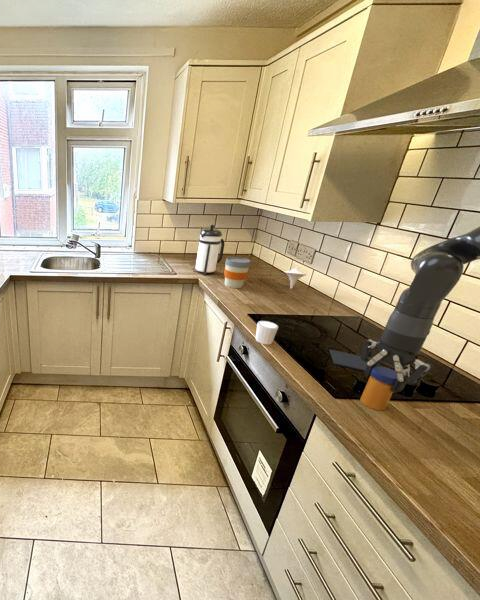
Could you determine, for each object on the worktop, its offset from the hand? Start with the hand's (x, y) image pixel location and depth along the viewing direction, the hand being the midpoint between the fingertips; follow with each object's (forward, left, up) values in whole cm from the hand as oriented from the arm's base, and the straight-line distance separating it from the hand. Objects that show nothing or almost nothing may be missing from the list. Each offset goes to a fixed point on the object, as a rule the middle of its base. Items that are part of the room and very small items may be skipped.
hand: (381, 383), depth 85 cm
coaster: (-9, -22, -7) cm, 25 cm away
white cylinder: (+14, -34, -7) cm, 38 cm away
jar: (0, 0, -7) cm, 7 cm away
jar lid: (0, 0, +3) cm, 3 cm away
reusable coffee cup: (+2, -98, -7) cm, 98 cm away
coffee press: (+10, -123, -7) cm, 124 cm away
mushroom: (-28, -95, -7) cm, 99 cm away
